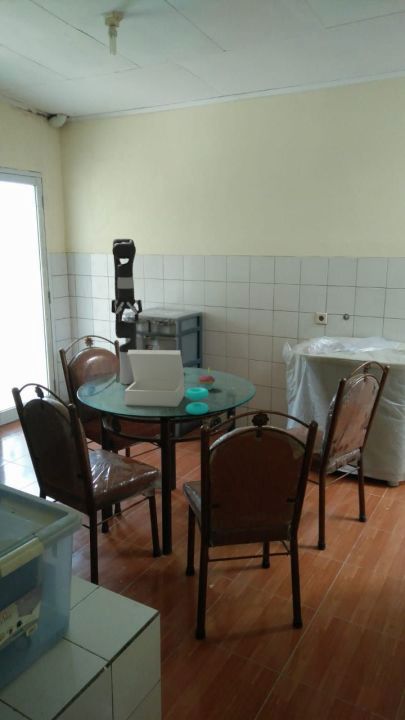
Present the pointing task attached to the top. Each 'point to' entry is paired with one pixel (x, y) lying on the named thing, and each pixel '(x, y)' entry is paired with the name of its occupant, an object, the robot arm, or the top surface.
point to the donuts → (197, 407)
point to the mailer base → (154, 394)
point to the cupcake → (206, 381)
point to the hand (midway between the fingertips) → (127, 321)
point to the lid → (156, 365)
